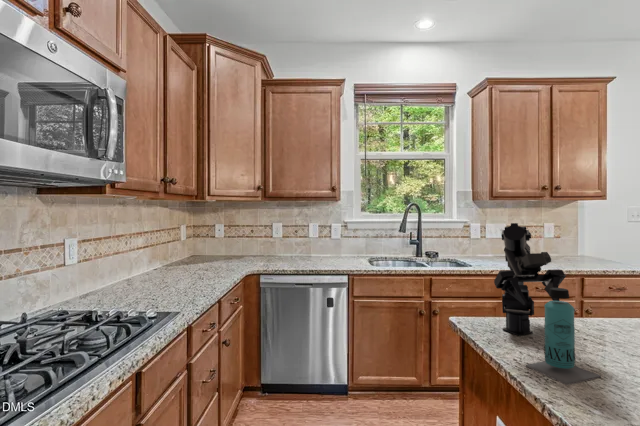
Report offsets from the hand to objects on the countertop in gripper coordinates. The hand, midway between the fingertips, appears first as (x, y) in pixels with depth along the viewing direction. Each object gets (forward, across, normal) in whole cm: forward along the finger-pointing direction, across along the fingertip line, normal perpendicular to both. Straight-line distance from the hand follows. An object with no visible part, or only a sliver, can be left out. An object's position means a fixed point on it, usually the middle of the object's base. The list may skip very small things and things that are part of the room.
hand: (542, 304), depth 103 cm
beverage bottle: (+18, -3, +1) cm, 18 cm away
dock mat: (+18, -3, +1) cm, 18 cm away
